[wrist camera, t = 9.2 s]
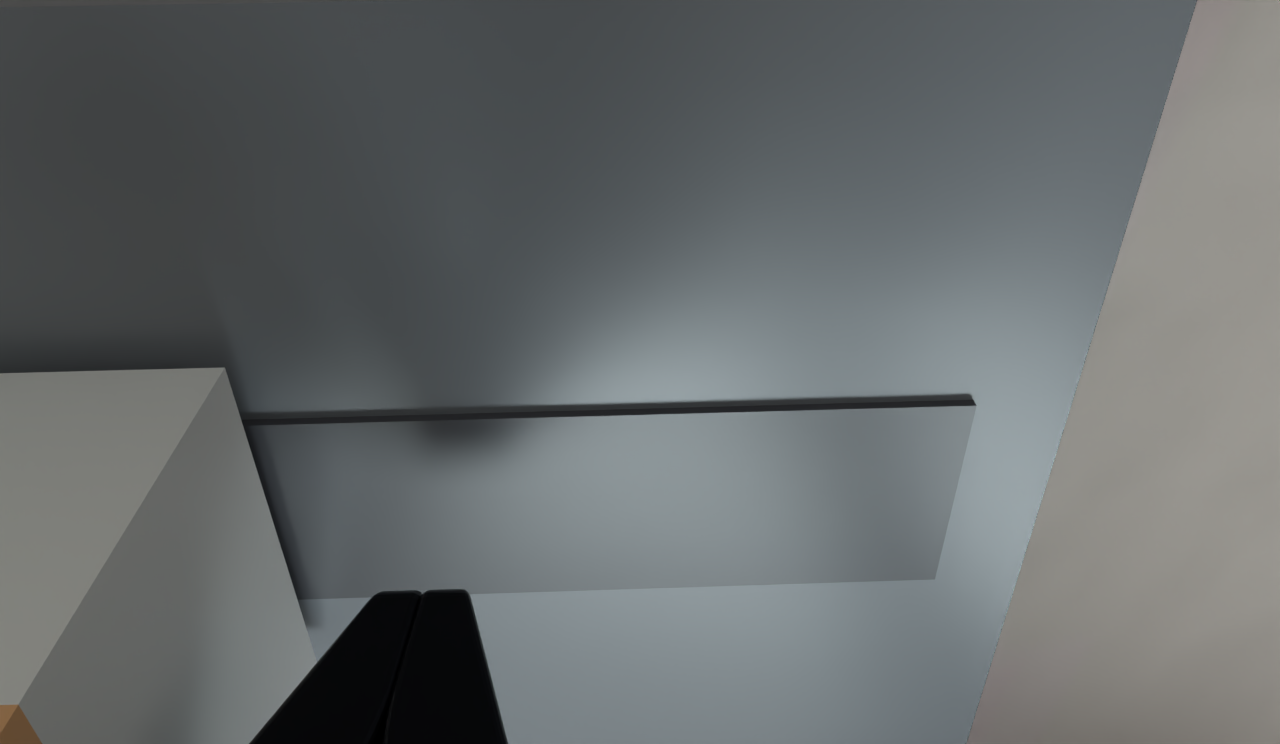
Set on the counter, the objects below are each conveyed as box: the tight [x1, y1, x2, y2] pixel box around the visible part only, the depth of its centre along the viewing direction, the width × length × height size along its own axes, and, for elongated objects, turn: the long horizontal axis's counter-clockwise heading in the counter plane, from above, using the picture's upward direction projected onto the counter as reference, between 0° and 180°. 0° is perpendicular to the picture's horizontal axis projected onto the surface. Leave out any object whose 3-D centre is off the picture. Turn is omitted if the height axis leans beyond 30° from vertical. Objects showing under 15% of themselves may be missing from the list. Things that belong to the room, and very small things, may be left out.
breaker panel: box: [0, 0, 1197, 744], centre depth 13 cm, size 16×20×3 cm
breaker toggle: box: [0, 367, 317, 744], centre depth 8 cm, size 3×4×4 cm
